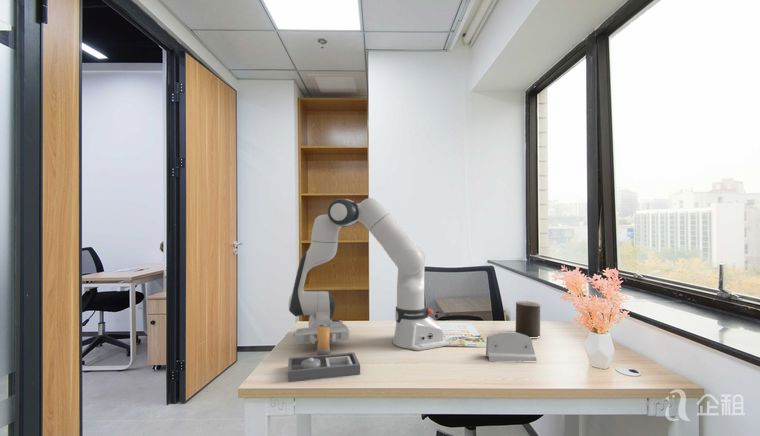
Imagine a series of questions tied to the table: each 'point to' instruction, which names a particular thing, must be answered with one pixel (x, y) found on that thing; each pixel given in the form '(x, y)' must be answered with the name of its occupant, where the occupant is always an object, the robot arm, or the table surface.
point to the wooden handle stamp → (323, 340)
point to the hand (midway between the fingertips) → (323, 341)
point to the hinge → (509, 347)
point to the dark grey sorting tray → (323, 366)
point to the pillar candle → (528, 318)
